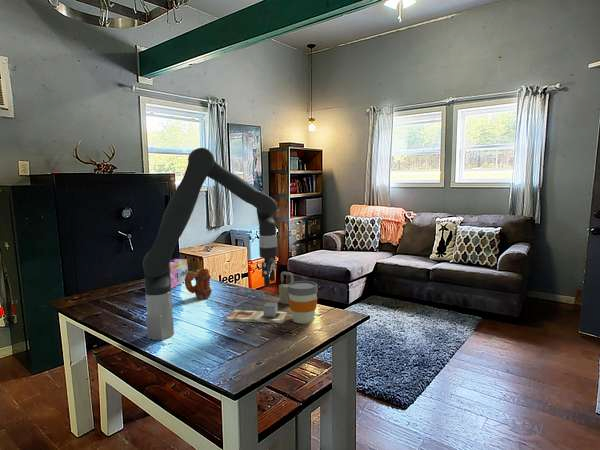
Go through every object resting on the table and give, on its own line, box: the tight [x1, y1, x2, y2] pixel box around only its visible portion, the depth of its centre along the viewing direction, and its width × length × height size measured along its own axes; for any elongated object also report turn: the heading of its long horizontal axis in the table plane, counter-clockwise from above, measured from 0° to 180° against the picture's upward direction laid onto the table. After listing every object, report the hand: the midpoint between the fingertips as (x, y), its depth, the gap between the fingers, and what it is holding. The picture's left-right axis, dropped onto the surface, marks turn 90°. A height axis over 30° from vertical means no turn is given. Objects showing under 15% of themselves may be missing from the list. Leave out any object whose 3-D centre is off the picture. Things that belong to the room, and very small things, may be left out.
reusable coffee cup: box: [287, 280, 318, 324], centre depth 158 cm, size 13×12×15 cm
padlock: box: [278, 271, 295, 305], centre depth 181 cm, size 4×8×15 cm, turn 53°
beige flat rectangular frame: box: [225, 309, 288, 324], centre depth 162 cm, size 24×10×1 cm, turn 80°
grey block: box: [262, 302, 279, 319], centre depth 161 cm, size 5×5×6 cm
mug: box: [184, 268, 213, 299], centre depth 190 cm, size 15×8×15 cm, turn 141°
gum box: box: [170, 257, 189, 288], centre depth 217 cm, size 24×8×14 cm, turn 168°
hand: (269, 283), depth 160 cm, fingers open, 8 cm apart
